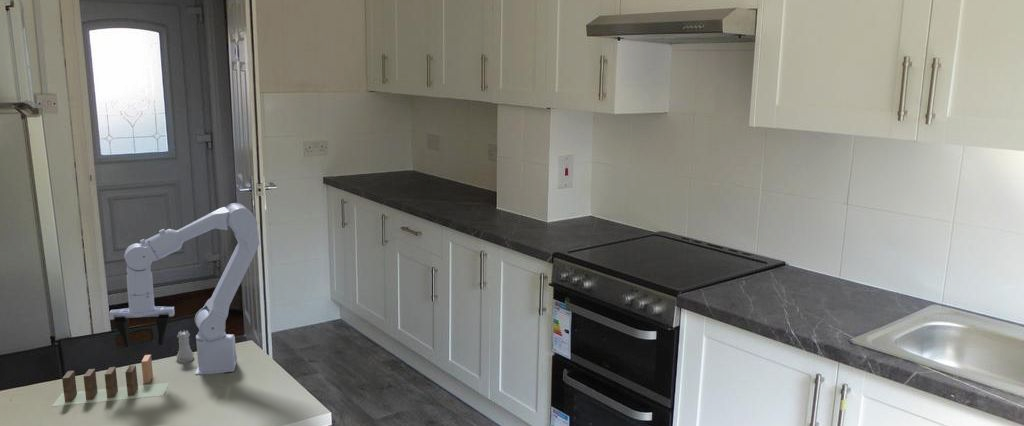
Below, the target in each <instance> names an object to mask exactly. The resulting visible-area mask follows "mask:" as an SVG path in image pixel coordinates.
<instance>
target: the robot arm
mask: <svg viewBox="0 0 1024 426" xmlns="http://www.w3.org/2000/svg"><path fill="white" fill-rule="evenodd" d="M258 223H259V222H258V220H257V218H256V217H255V215H254V214H253V212H252V211H251V210H249V209H248V208H247V207H246V206H245V205H243V204H242V203H239V202H233V203H230V204H228V205H227V206H223V207H220V208H218V209H217V208H216V209H215V210H214V211H212V212H209V213H207V214H206V215H204V216H202V217H200V218H198V219H196V220H194V221H192V222H190V223H189V224H187V225H185V226H182V227H181V228H179V229H177V230H176V229H172V228H168V229H165V228H162V229H160V230H159V231H158V232H159V233H156V234H155V235H152V236H151V237H149V238H146V239H145V238H143V239H141V240H139V242H140V243H132V244H130V245H128V247H126V249H125V251H124V254H123V258H124V261H125V263H126V269H125V270H126V273H127V274H126V288H127V298H128V300H127V301H128V307H125V308H119V309H111V310H110V311H109V313H108V315H109V316H108V317H109V320H110V321H113V320H114V322H113V325H114V327H115V328H116V329H117V332H119V334H120V336H121V339H122V341H123V343H124V347H125V348H129V347H130V346H131V336H130V319H132V318H134V319H135V318H151V317H154V318H155V317H157V319H156V327H157V332H158V334H157V335H158V339H157V340H158V346H162V345H163V344H164V339H165V333H166V329H167V326H168V323H169V321H170V318H171V317H174V316H175V315H176V314H175V306H159V305H158V306H156V305H155V296H154V294H155V293H154V281H153V272H152V268H151V265H152V264H153V262H154V261H155V262H156V261H158V260H161V259H163V258H165V257H167V256H168V255H170V254H171V255H172V254H173V253H175V252H177V251H179V250H181V249H182V246H183V244H184V242H186V241H189V240H192V239H193V238H195V237H198V236H200V235H203V234H205V233H208V232H209V231H211V230H214V229H217V230H225V231H228V229H229V228H230V229H231V230H232V232H233V234H234V237H235V239H236V241H237V244H236V246H235V248H234V250H233V252H232V254H231V256H230V258H229V261H228V262H227V264H226V266H225V269H224V271H223V272H222V274H221V276H220V279H219V280H218V283H217V285H216V286H215V288H214V290H213V292H212V295H211V297H210V298H208V299H207V301H206V302H205V304H204V306H203V307H201V308H200V309H199V310H198V311H197V312H196V313H195V316H194V323H195V325H196V327H197V328H198V332H197V334H196V335H195V340H196V341H195V343H196V353H197V355H196V356H197V363H198V364H197V368H196V370H195V373H194V375H196V376H200V375H210V374H211V375H212V374H220V373H231V372H235V368H236V367H237V366H236V365H237V362H238V358H237V356H238V355H237V349H236V337H235V334H233V333H232V334H230V333H228V334H227V333H226V320H227V318H228V316H229V310H230V305H231V303H232V302H233V300H234V297H235V295H236V293H237V291H238V289H239V287H240V285H241V283H242V281H243V280H244V277H245V276H246V275H245V274H246V273H247V270H248V269H249V267H250V264H251V262H252V261H253V259H254V256H255V254H256V252H257V250H258V248H259V246H260V236H259V230H258ZM228 227H229V228H228Z"/></svg>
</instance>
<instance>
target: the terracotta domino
mask: <svg viewBox="0 0 1024 426" xmlns="http://www.w3.org/2000/svg"><path fill="white" fill-rule="evenodd" d="M152 363H153V361H152V354H145V355H144V356H143V358H142V360H141V363H140V364H141V372H142V381H143V384H147V383H148V384H149V383H151V381H152V378H153V377H154V372H153V371H154V370H153V364H152Z"/></svg>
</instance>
